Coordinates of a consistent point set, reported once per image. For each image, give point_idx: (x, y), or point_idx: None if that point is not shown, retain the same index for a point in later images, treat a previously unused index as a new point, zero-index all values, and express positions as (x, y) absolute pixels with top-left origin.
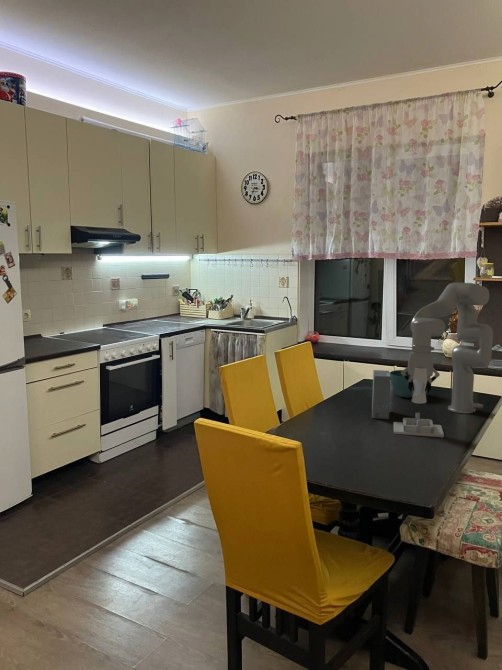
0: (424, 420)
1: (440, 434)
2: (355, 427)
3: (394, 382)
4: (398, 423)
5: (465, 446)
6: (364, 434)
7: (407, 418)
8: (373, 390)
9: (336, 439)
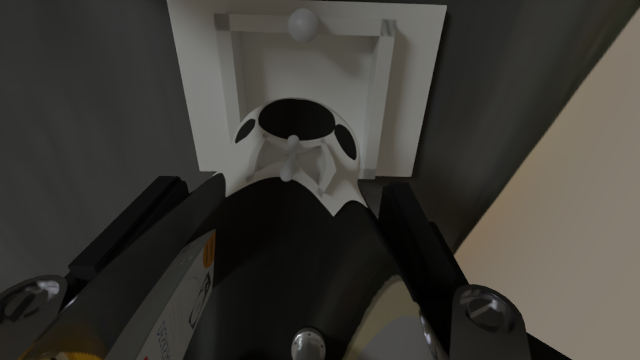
0: (348, 34)
1: (397, 173)
2: (11, 110)
3: None
4: (200, 27)
5: (455, 247)
6: (95, 196)
7: (242, 30)
8: None
9: (31, 260)
